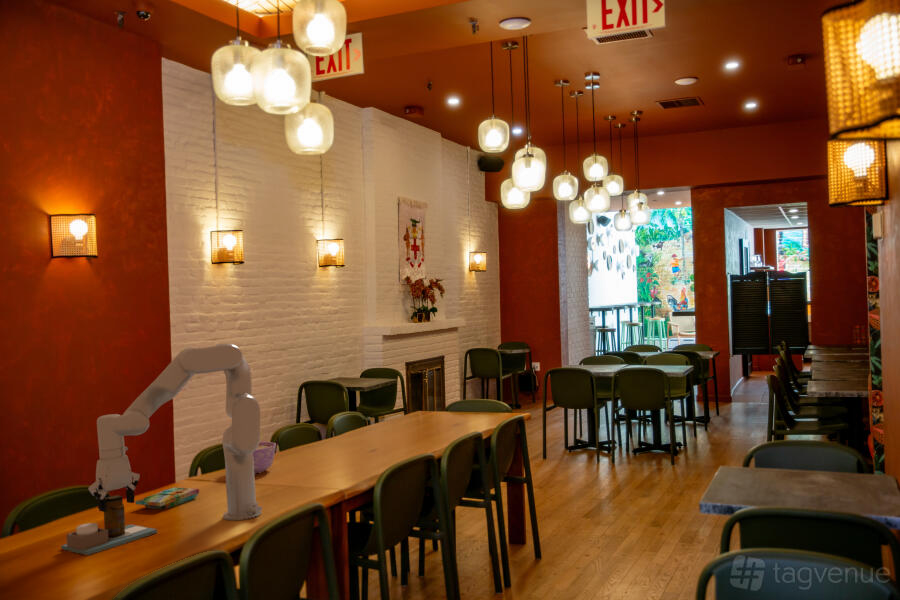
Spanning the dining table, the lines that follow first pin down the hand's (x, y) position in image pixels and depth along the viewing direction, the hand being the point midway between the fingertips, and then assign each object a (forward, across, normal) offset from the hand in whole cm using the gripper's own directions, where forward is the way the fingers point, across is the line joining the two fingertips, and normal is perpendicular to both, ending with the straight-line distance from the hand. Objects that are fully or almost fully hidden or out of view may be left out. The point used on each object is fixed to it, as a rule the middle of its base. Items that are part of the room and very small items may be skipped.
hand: (117, 506), depth 244 cm
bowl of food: (+12, -86, -32) cm, 93 cm away
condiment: (+9, +1, 0) cm, 9 cm away
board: (+10, +3, 0) cm, 11 cm away
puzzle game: (+12, -35, -23) cm, 43 cm away
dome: (+6, +10, 0) cm, 12 cm away
